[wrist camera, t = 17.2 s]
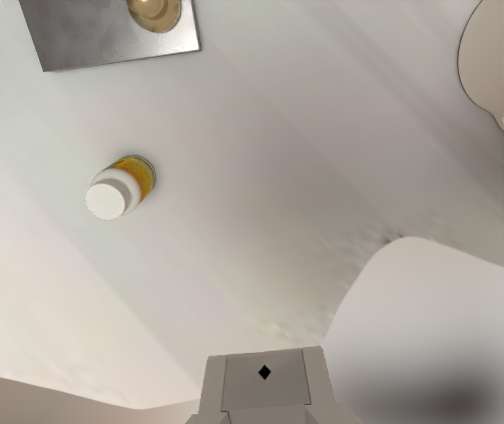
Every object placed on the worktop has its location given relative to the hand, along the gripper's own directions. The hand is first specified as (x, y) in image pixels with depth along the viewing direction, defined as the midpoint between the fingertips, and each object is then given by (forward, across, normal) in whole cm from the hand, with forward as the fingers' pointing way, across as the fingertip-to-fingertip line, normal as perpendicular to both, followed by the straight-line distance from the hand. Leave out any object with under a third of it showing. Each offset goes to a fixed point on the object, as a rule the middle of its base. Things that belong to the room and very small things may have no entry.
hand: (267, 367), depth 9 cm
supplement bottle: (+34, +16, +3) cm, 38 cm away
